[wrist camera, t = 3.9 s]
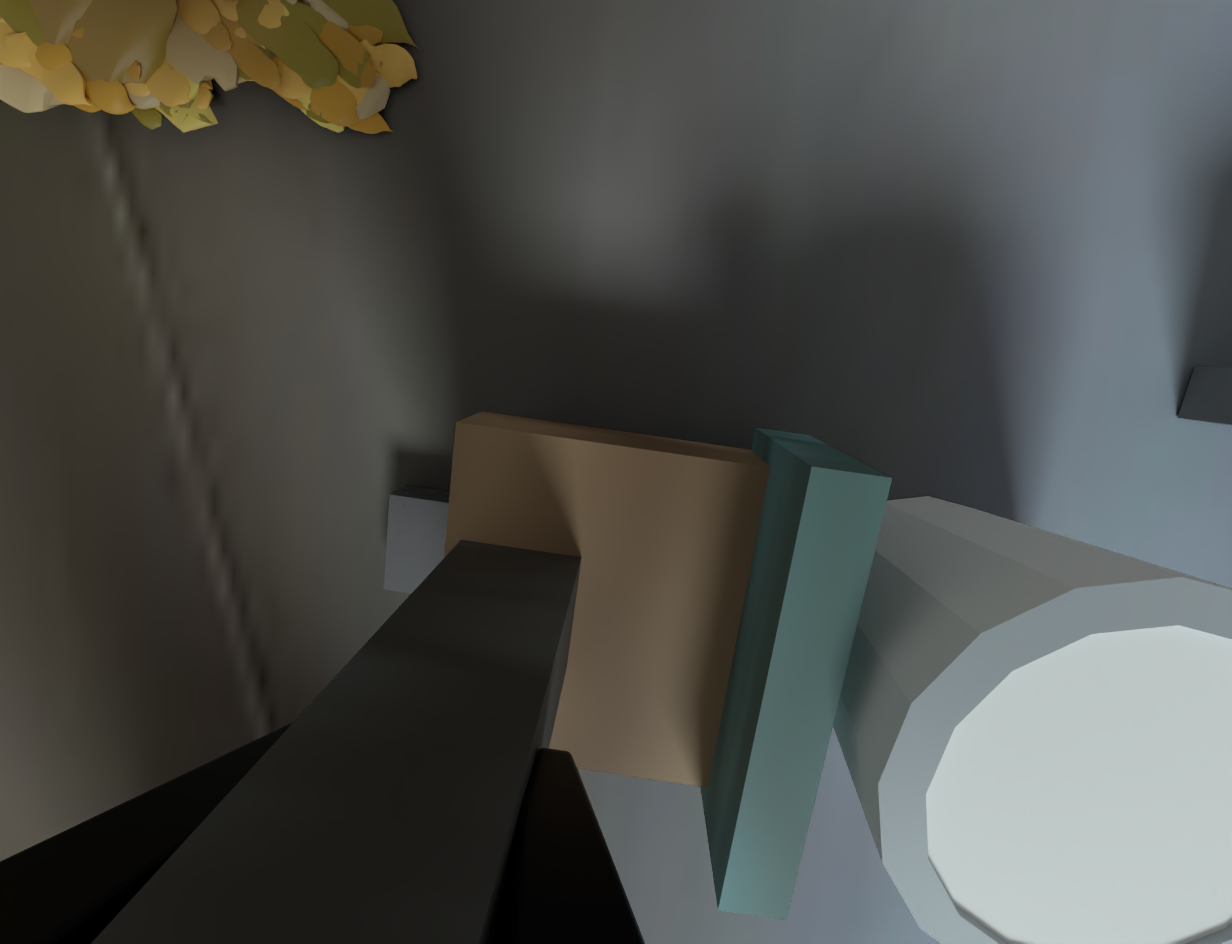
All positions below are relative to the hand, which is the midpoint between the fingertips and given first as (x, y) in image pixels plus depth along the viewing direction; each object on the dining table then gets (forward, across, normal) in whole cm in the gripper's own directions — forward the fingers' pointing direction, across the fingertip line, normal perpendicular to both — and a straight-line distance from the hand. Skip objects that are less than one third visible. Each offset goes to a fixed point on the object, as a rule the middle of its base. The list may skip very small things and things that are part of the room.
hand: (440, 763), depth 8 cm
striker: (+7, -2, 0) cm, 7 cm away
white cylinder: (+8, -9, 0) cm, 12 cm away
